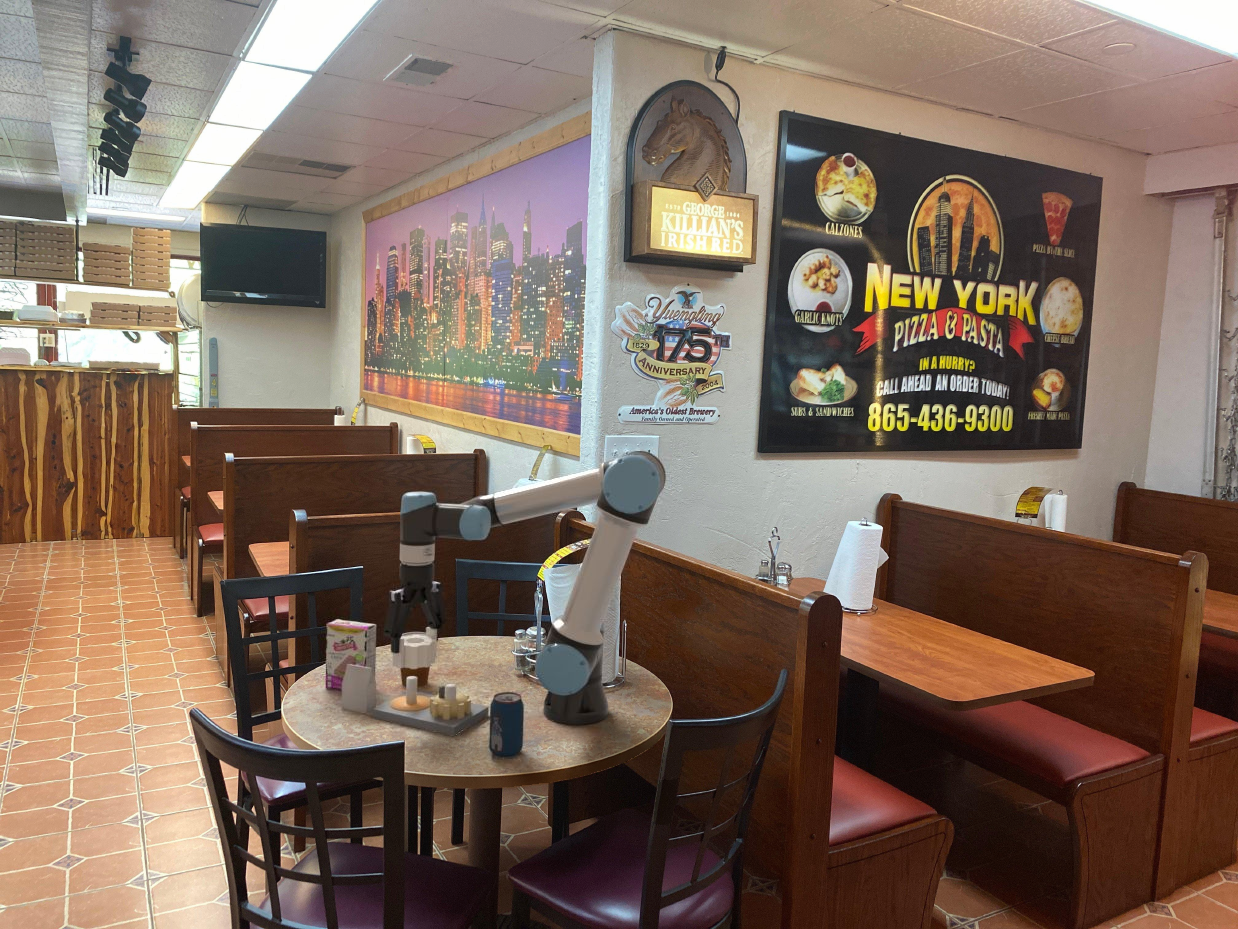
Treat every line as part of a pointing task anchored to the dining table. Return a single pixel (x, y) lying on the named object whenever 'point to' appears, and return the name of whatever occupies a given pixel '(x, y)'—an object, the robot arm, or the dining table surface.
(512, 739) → the soda can
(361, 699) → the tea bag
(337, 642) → the candy bar box
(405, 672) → the disposable coffee cup
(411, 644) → the loose gear
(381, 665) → the dining table surface
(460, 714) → the gear board
